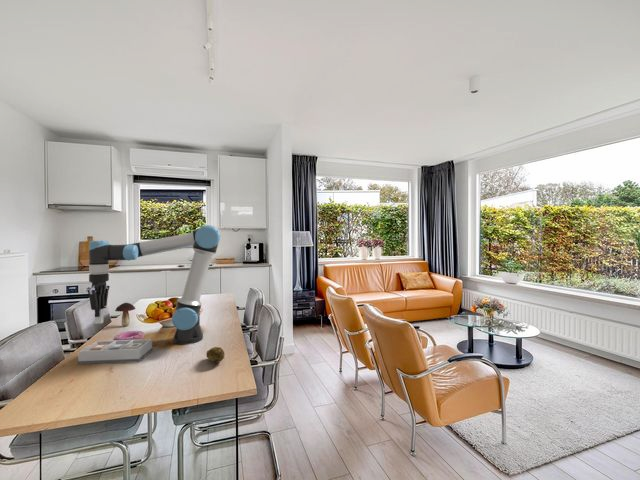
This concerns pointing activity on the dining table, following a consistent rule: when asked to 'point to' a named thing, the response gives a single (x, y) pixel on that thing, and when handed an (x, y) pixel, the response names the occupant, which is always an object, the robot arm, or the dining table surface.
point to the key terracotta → (98, 347)
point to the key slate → (116, 346)
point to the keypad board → (115, 352)
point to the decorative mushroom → (125, 312)
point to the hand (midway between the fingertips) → (99, 322)
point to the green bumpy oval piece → (215, 354)
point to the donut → (130, 335)
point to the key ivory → (135, 346)
